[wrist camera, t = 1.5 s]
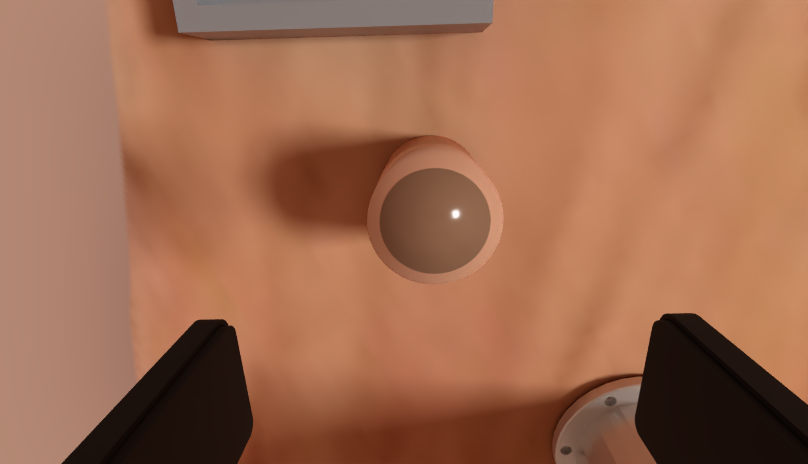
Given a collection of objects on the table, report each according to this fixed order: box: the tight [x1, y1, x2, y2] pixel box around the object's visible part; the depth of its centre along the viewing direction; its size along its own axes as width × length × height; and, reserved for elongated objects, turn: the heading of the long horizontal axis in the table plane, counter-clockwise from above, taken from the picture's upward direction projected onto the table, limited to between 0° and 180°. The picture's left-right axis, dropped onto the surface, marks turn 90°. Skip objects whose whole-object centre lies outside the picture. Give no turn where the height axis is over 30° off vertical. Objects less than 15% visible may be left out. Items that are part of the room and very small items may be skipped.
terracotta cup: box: [367, 135, 503, 284], centre depth 23 cm, size 6×6×8 cm
